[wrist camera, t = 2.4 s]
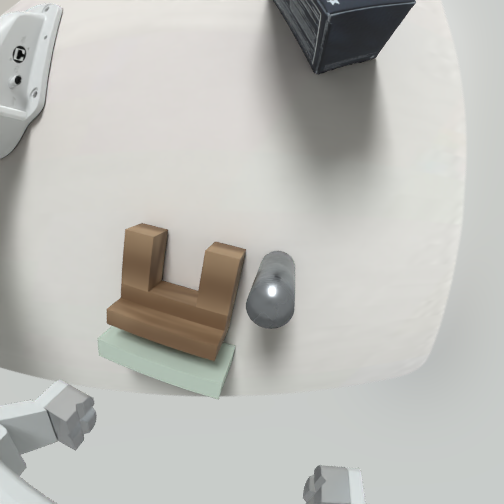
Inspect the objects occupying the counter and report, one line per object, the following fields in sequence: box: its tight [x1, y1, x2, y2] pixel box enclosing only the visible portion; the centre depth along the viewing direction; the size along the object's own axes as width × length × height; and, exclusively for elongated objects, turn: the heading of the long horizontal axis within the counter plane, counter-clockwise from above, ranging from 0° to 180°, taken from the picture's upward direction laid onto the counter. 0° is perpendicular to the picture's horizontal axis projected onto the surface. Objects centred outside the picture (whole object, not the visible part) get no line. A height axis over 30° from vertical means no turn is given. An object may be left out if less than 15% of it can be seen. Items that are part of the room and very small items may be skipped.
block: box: [107, 223, 246, 361], centre depth 25 cm, size 8×10×6 cm
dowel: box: [246, 251, 295, 329], centre depth 22 cm, size 3×3×8 cm
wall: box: [98, 326, 235, 399], centre depth 27 cm, size 2×12×6 cm, turn 77°
